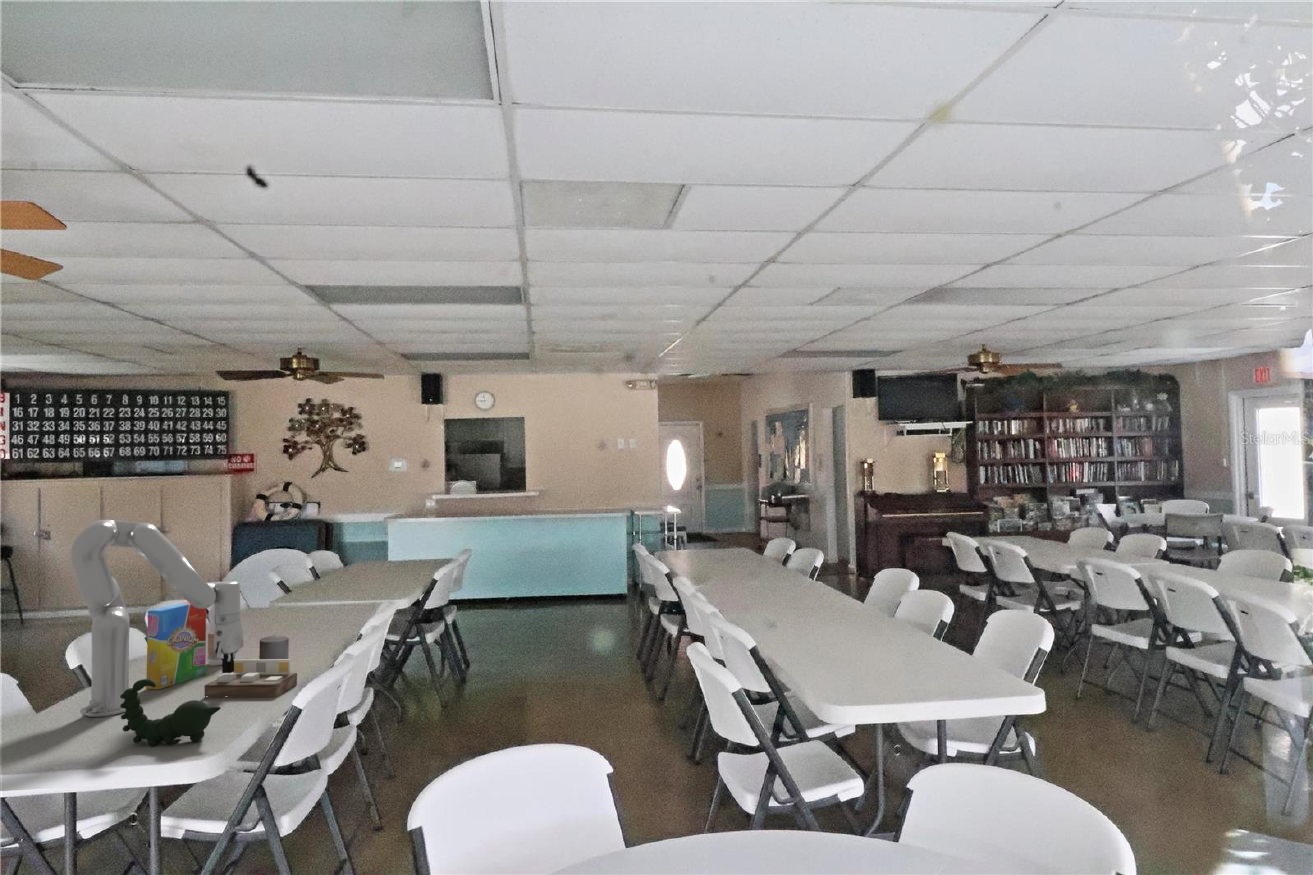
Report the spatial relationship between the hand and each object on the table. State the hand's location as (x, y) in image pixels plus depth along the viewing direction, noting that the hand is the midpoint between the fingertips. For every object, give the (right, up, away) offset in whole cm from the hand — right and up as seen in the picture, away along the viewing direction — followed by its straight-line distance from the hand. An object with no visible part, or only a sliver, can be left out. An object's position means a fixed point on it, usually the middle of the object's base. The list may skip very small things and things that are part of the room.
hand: (228, 672), depth 255 cm
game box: (-26, -8, +13) cm, 30 cm away
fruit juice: (-24, -8, +38) cm, 46 cm away
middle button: (+8, -3, 0) cm, 8 cm away
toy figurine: (+11, -5, -47) cm, 48 cm away
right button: (+16, -4, -1) cm, 16 cm away
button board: (+8, -7, 0) cm, 10 cm away
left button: (0, -3, 0) cm, 3 cm away
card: (+8, -3, +7) cm, 11 cm away
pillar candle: (+6, -7, +18) cm, 21 cm away
